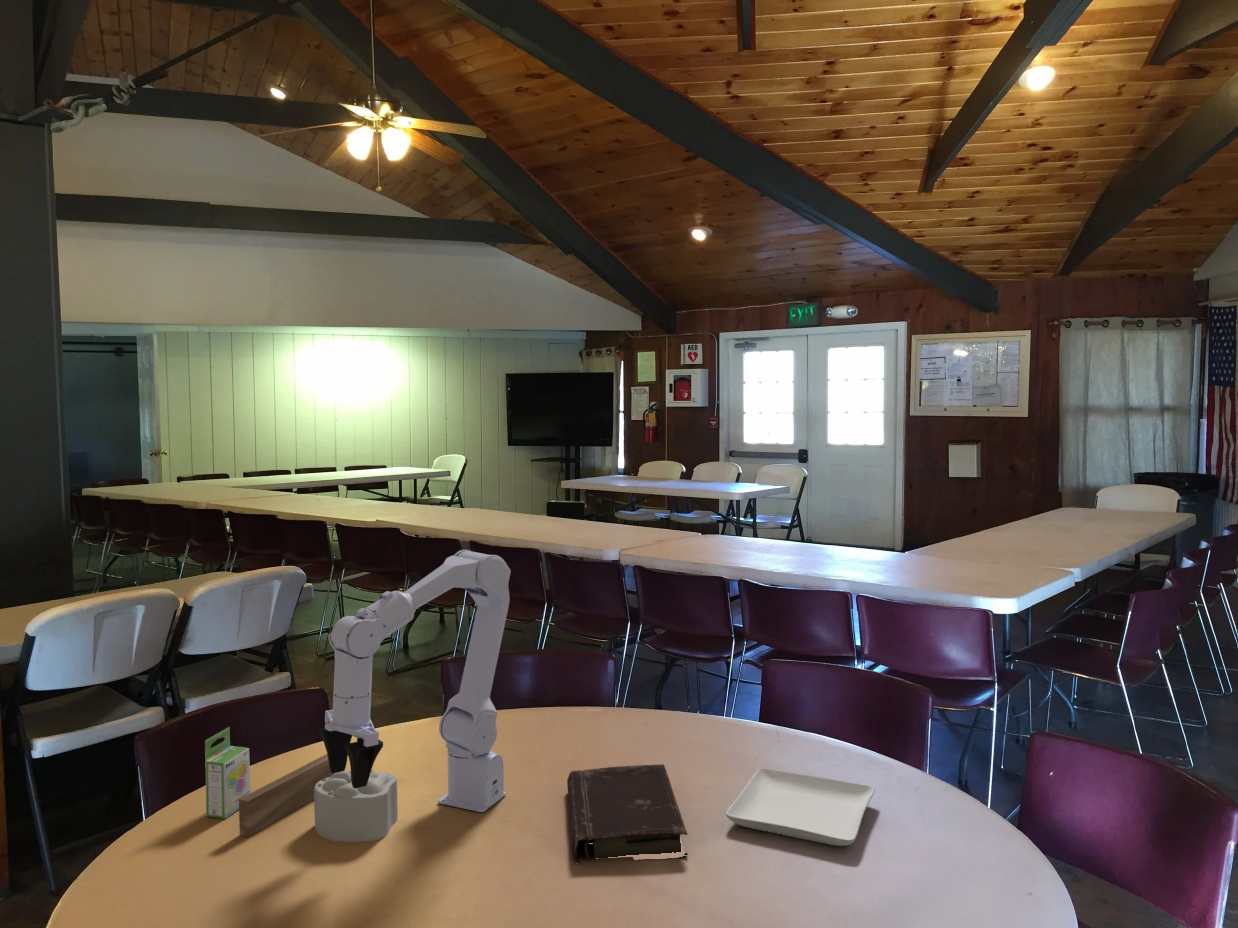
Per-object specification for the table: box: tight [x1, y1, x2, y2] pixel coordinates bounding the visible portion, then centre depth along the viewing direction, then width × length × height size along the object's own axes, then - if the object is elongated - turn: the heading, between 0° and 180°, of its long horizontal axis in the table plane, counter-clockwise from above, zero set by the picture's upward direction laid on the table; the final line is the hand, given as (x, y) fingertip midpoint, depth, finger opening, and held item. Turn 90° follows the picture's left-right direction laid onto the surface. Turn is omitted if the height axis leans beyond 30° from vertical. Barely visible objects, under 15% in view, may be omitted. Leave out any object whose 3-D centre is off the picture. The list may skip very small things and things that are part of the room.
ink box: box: [204, 726, 252, 820], centre depth 149 cm, size 7×4×13 cm, turn 168°
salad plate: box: [725, 767, 876, 847], centre depth 146 cm, size 21×21×3 cm
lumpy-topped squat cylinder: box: [313, 768, 399, 843], centre depth 143 cm, size 10×13×9 cm
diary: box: [566, 764, 689, 864], centre depth 144 cm, size 19×25×5 cm
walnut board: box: [238, 753, 334, 838], centre depth 148 cm, size 2×20×6 cm, turn 156°
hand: (348, 778), depth 136 cm, fingers open, 7 cm apart
